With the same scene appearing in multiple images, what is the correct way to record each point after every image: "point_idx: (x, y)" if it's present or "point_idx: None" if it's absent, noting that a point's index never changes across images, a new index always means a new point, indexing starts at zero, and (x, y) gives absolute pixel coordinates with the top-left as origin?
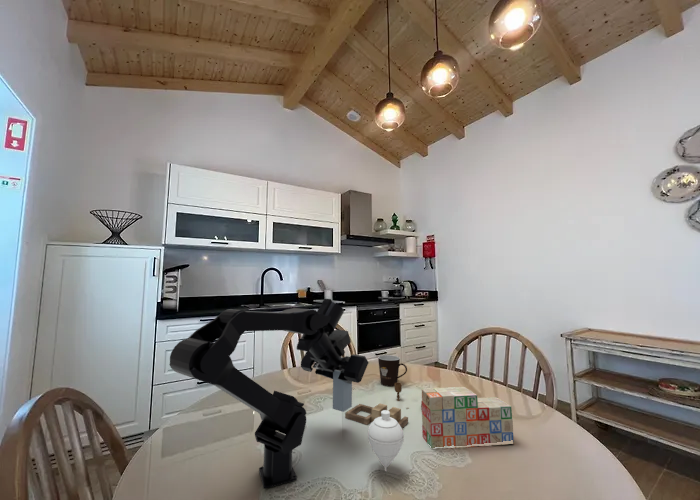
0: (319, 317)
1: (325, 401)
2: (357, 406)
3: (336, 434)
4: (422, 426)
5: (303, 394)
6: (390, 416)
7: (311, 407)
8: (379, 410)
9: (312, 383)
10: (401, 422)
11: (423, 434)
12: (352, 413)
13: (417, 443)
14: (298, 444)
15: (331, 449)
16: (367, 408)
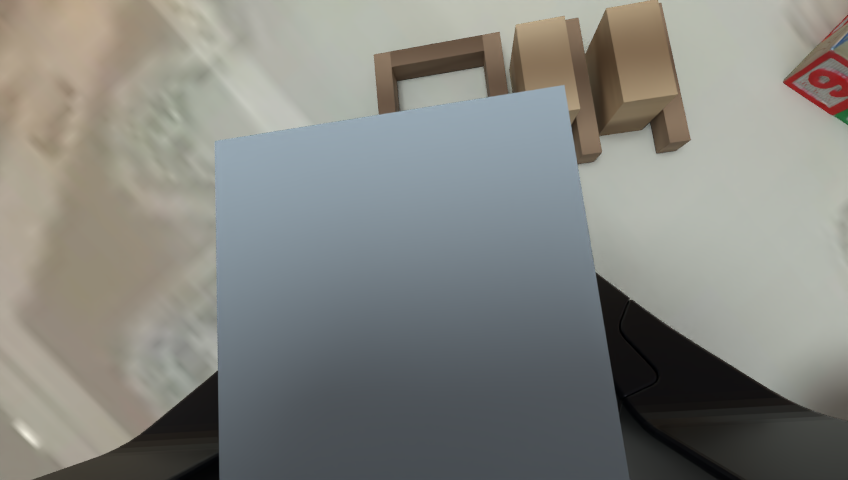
0: None
1: (203, 123)
2: (385, 87)
3: None
4: (827, 56)
5: (71, 140)
6: (654, 103)
7: (195, 216)
8: (577, 100)
9: (19, 19)
10: (673, 72)
11: (803, 79)
12: None
13: (805, 151)
14: None
15: None
16: (432, 62)
